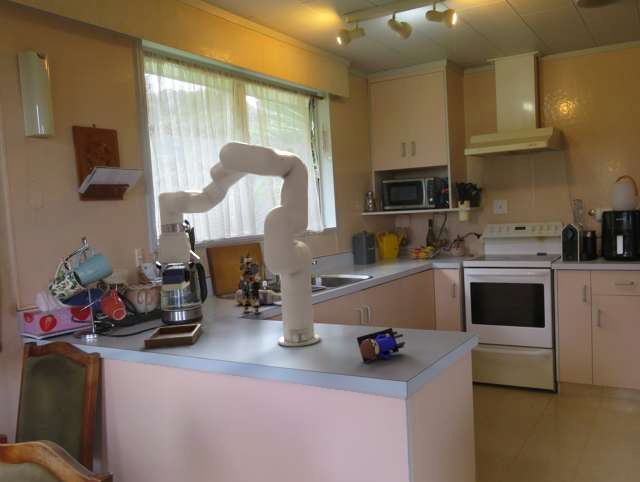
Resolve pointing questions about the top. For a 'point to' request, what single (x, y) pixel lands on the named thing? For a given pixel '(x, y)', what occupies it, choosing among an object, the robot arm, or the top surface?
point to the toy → (250, 284)
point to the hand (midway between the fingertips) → (177, 282)
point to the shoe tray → (173, 336)
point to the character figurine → (379, 344)
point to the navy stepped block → (174, 279)
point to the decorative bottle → (260, 297)
